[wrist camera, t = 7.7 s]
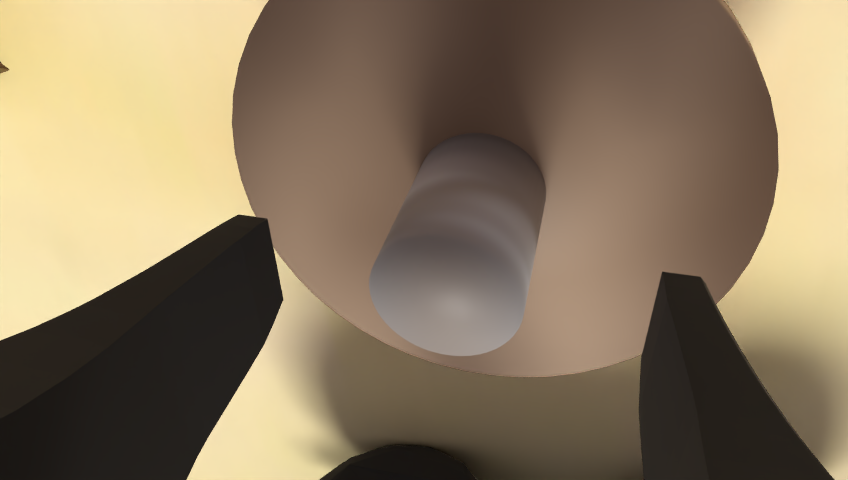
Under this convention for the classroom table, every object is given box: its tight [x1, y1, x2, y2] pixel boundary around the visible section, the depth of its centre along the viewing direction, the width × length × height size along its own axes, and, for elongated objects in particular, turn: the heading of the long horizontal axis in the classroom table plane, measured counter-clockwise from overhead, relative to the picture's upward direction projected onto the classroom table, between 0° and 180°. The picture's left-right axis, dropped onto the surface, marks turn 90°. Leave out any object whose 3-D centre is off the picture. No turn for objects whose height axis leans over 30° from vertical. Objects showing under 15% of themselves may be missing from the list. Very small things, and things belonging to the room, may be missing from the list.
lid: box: [232, 0, 778, 377], centre depth 14 cm, size 12×12×4 cm
